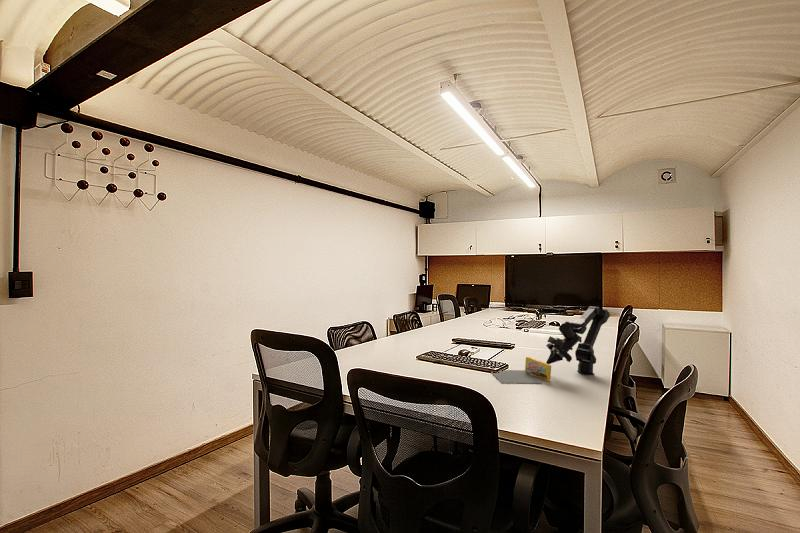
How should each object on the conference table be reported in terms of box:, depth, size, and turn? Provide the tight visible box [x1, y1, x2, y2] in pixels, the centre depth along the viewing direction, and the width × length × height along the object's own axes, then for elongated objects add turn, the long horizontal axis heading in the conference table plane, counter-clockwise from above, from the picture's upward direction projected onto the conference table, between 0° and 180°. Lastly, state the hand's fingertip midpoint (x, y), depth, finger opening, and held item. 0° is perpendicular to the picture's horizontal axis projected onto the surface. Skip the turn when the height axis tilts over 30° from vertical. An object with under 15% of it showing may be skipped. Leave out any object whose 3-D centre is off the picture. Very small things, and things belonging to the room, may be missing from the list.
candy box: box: [524, 356, 552, 382], centre depth 200 cm, size 16×2×8 cm, turn 25°
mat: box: [490, 369, 542, 385], centre depth 200 cm, size 20×22×1 cm
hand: (547, 363), depth 201 cm, fingers closed
